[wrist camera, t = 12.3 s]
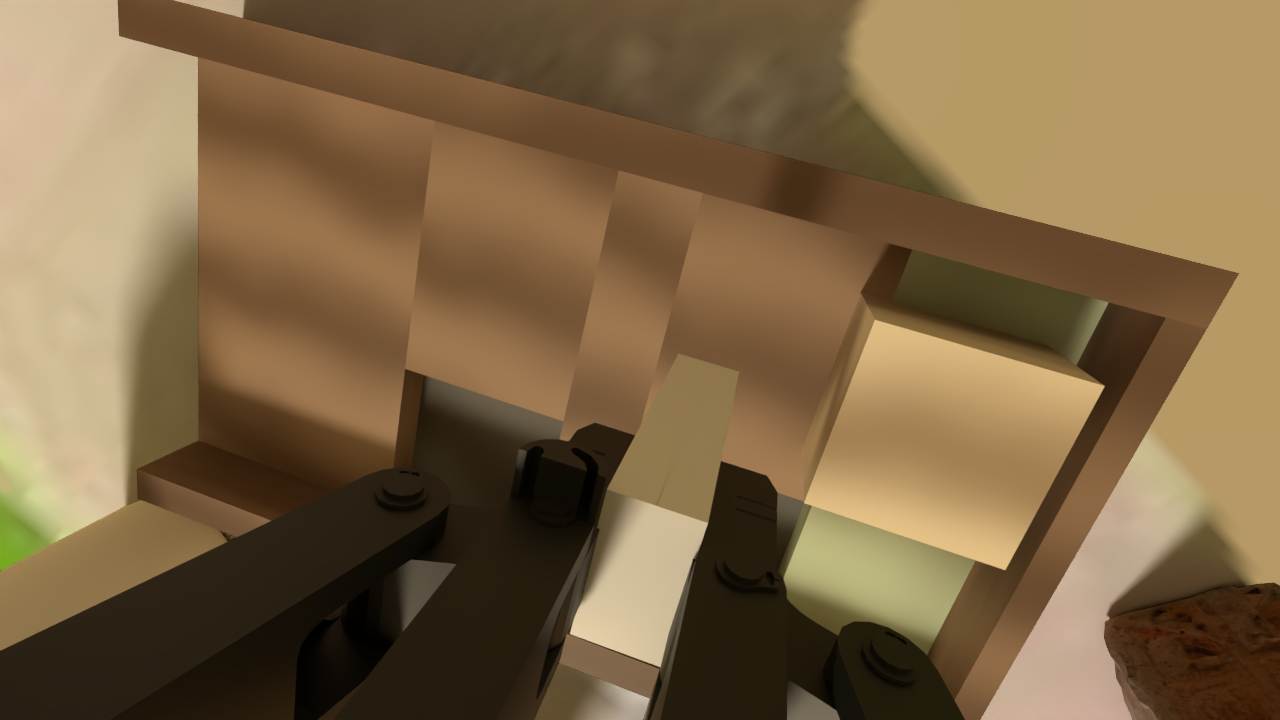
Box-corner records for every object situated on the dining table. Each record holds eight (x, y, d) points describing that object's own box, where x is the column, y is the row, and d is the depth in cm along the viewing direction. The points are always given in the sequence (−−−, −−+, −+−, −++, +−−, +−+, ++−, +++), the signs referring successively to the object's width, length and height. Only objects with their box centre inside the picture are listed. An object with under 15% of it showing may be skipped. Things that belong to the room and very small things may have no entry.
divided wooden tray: (241, 19, 25) (117, -15, 21) (1138, 249, 21) (1239, 273, 16) (233, 450, 32) (138, 498, 27) (906, 698, 27) (929, 807, 23)
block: (860, 292, 21) (874, 319, 17) (1047, 345, 20) (1105, 386, 16) (802, 448, 23) (803, 503, 19) (969, 502, 22) (1005, 570, 18)
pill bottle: (243, 637, 36) (-106, 937, 22) (126, 586, 37) (-278, 840, 23) (250, 524, 33) (-142, 783, 19) (124, 472, 34) (-336, 682, 20)
